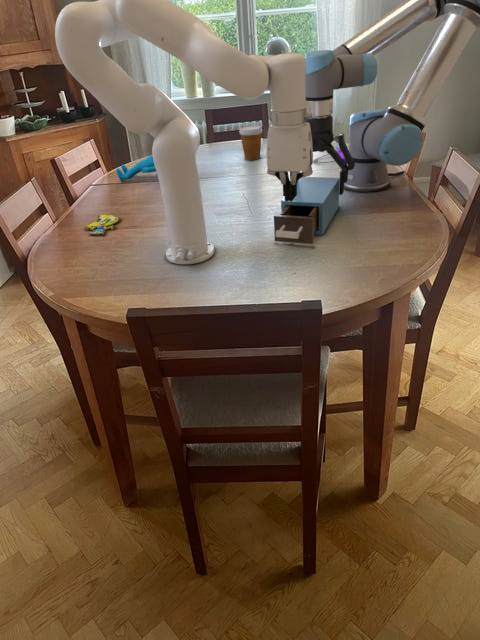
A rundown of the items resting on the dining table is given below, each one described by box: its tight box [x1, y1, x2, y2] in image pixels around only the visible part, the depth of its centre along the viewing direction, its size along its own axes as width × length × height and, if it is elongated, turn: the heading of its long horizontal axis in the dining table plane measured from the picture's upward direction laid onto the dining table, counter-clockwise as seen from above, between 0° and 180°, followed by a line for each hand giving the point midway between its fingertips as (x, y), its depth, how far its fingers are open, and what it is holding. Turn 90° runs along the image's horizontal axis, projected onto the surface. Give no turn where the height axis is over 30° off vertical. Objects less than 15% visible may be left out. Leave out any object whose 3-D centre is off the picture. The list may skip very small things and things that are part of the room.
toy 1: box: [85, 214, 120, 236], centre depth 147 cm, size 10×1×15 cm
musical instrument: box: [313, 143, 347, 164], centre depth 191 cm, size 24×2×20 cm
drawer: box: [273, 205, 319, 245], centre depth 127 cm, size 26×10×7 cm, turn 159°
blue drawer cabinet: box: [280, 176, 340, 236], centre depth 136 cm, size 22×11×9 cm, turn 159°
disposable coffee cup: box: [238, 124, 263, 161], centre depth 196 cm, size 10×10×12 cm
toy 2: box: [115, 154, 158, 182], centre depth 182 cm, size 17×11×30 cm
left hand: (290, 199), depth 115 cm, fingers closed
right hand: (318, 192), depth 141 cm, fingers open, 13 cm apart
